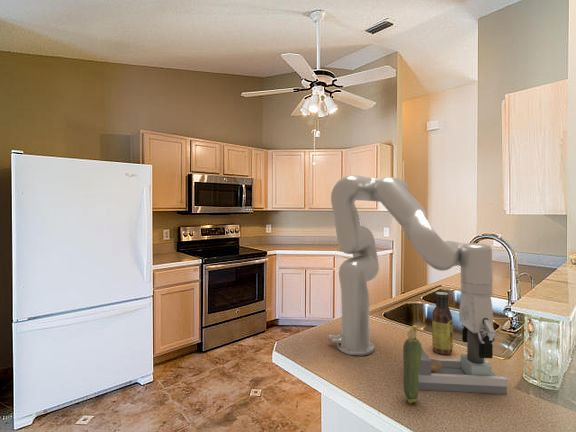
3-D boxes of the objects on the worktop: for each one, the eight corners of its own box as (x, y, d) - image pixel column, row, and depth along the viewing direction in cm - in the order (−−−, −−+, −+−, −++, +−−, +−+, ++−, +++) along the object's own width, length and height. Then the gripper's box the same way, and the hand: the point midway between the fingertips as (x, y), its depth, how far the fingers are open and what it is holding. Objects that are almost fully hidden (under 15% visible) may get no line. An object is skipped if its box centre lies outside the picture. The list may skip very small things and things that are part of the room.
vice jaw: (471, 380, 85) (471, 336, 85) (460, 367, 92) (460, 326, 91) (491, 381, 84) (491, 337, 84) (478, 368, 91) (479, 327, 91)
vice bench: (415, 389, 85) (415, 360, 85) (405, 370, 95) (405, 344, 95) (506, 394, 82) (507, 364, 82) (487, 374, 92) (487, 347, 92)
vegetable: (400, 396, 82) (400, 320, 81) (416, 395, 82) (416, 319, 82) (408, 407, 77) (408, 326, 77) (425, 406, 78) (425, 326, 77)
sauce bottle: (455, 356, 103) (455, 296, 103) (434, 355, 105) (435, 295, 104) (449, 347, 110) (449, 291, 109) (430, 346, 111) (430, 290, 110)
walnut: (428, 376, 87) (428, 365, 87) (423, 369, 91) (423, 358, 91) (443, 377, 87) (443, 366, 87) (438, 370, 91) (438, 359, 91)
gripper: (449, 281, 96) (450, 336, 97) (476, 296, 79) (477, 364, 79) (475, 281, 95) (475, 337, 96) (509, 297, 78) (509, 365, 79)
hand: (476, 349), depth 88 cm, fingers open, 9 cm apart
